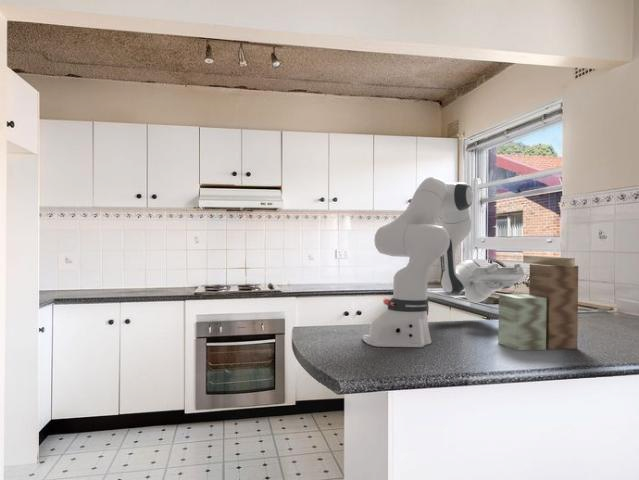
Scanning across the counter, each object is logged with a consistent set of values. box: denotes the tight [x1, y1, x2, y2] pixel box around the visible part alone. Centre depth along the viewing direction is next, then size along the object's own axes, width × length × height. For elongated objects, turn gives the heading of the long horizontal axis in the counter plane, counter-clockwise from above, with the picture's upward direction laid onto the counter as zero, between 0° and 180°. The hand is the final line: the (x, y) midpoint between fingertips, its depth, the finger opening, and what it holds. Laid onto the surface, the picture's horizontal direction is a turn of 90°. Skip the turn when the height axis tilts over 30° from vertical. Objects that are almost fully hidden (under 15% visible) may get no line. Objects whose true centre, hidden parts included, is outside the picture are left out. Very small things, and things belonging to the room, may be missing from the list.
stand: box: [497, 263, 579, 351], centre depth 146 cm, size 21×10×26 cm, turn 100°
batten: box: [522, 255, 576, 267], centre depth 150 cm, size 3×22×3 cm, turn 10°
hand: (507, 265), depth 172 cm, fingers open, 8 cm apart
